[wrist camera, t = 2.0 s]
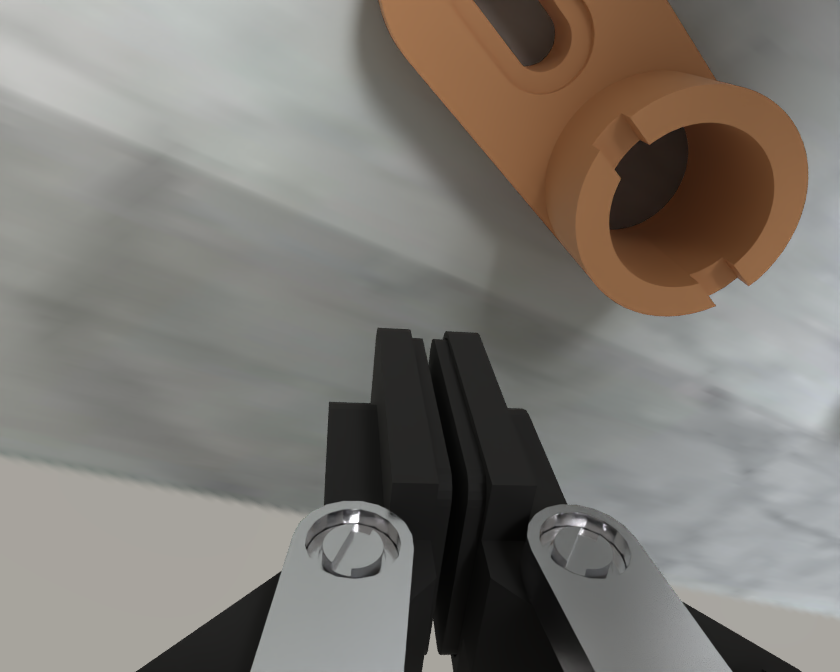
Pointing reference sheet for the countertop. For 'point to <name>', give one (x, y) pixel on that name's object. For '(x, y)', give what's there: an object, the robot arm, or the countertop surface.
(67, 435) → the countertop surface
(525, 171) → the bracket
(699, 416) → the countertop surface
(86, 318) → the countertop surface
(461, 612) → the robot arm
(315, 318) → the countertop surface
